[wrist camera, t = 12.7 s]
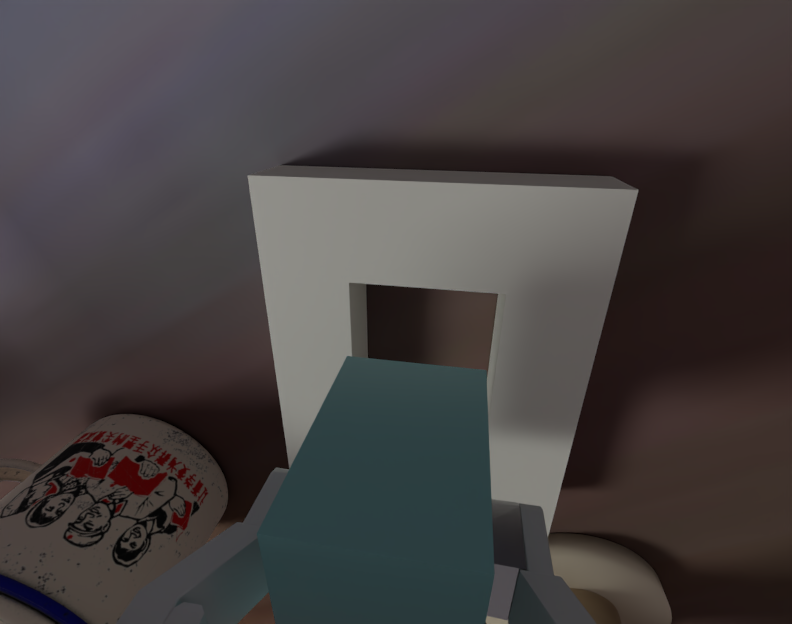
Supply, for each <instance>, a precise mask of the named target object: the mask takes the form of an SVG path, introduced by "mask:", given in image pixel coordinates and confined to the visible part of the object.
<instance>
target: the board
mask: <svg viewBox="0 0 792 624" xmlns="http://www.w3.org/2000/svg"><path fill="white" fill-rule="evenodd" d="M248 181H249V188H250V195H251V202H252V209H253V216H254V223H255V231H256V238H257V245H258V252H259V259H260V266H261V273H262V280H263V287H264V294H265V301H266V308H267V315H268V322H269V329H270V336H271V343H272V350H273V357H274V364H275V371H276V378H277V385H278V392H279V399H280V406H281V413H282V420H283V427H284V434H285V441H286V449H287V456H288V463H289V469H290V467H291V465H292V463H293V461H294V459H295V457H296V455H297V453H298V451H299V449H300V447H301V445H302V443H303V441H304V440H305V438H306V436H307V434H308V432H309V430H310V428H311V426H312V424H313V422H314V420H315V418H316V416H317V414H318V412H319V410H320V408H321V406H322V404H323V402H324V400H325V398H326V396H327V394H328V392H329V390H330V388H331V386H332V384H333V382H334V380H335V379H336V377H337V375H338V373H339V371H340V369H341V367H342V365H343V363H344V361H345V359H346V357H347V356H352V357H362V358H368V338H367V295H366V284H375V285H389V286H402V287H416V288H429V289H443V290H456V291H470V292H483V293H497V294H498V299H497V307H496V315H495V322H494V330H493V338H492V345H491V353H490V361H489V369H488V376H487V401H488V425H489V450H490V475H491V499H495V500H502V501H510V502H517V503H518V504H519V503H521V504H528V505H535V506H541V508H542V510H543V513H544V519H545V525H546V531H547V536H548V535H549V531H550V527H551V523H552V519H553V516H554V512H555V508H556V504H557V500H558V497H559V493H560V489H561V485H562V481H563V477H564V474H565V470H566V466H567V462H568V458H569V454H570V451H571V447H572V443H573V439H574V435H575V431H576V428H577V424H578V420H579V416H580V412H581V408H582V405H583V401H584V397H585V393H586V389H587V386H588V382H589V378H590V374H591V370H592V366H593V363H594V359H595V355H596V351H597V347H598V343H599V340H600V336H601V332H602V328H603V324H604V320H605V317H606V313H607V309H608V305H609V301H610V297H611V294H612V290H613V286H614V282H615V278H616V275H617V271H618V267H619V263H620V259H621V255H622V252H623V248H624V244H625V240H626V236H627V232H628V229H629V225H630V221H631V217H632V213H633V209H634V206H635V202H636V198H637V194H638V189H636V188H634V187H632V186H630V185H628V184H626V183H624V182H622V181H620V180H618V179H616V178H614V177H612V176H590V175H560V174H530V173H500V172H470V171H440V170H410V169H380V168H350V167H320V166H290V165H279V166H276V167H273V168H270V169H266V170H263V171H260V172H257V173H253V174H250V175H248Z"/></svg>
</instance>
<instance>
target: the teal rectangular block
mask: <svg viewBox="0 0 792 624" xmlns="http://www.w3.org/2000/svg"><path fill="white" fill-rule="evenodd" d="M257 538H258V543H259V547H260V552H261V557H262V562H263V566H264V571H265V576H266V580H267V585H268V590H269V595H270V599H271V604H272V609H273V613H274V618H275V623H276V624H485V622H486V617H487V612H488V607H489V601H490V596H491V591H492V586H493V580H494V575H495V573H494V549H493V524H492V499H491V475H490V450H489V425H488V401H487V376H486V370H478V369H468V368H459V367H449V366H439V365H430V364H420V363H410V362H401V361H391V360H381V359H372V358H362V357H352V356H347V357H346V359H345V361H344V363H343V365H342V367H341V369H340V371H339V373H338V375H337V377H336V379H335V380H334V382H333V384H332V386H331V388H330V390H329V392H328V394H327V396H326V398H325V400H324V402H323V404H322V406H321V408H320V410H319V412H318V414H317V416H316V418H315V420H314V422H313V424H312V426H311V428H310V430H309V432H308V434H307V436H306V438H305V440H304V441H303V443H302V445H301V447H300V449H299V451H298V453H297V455H296V457H295V459H294V461H293V463H292V465H291V467H290V469H289V471H288V473H287V475H286V477H285V479H284V481H283V483H282V485H281V487H280V489H279V491H278V493H277V495H276V497H275V499H274V501H273V502H272V504H271V506H270V508H269V510H268V512H267V514H266V516H265V518H264V520H263V522H262V524H261V526H260V528H259V530H258V532H257Z"/></svg>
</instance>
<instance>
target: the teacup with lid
mask: <svg viewBox="0 0 792 624" xmlns="http://www.w3.org/2000/svg"><path fill="white" fill-rule="evenodd" d="M0 481H15V482H21V483H20V484H19V485H18V486H17V487H16V488H14V489H13V490H12V491H11V492H10V493H8V494H7V495H6V496H5V497H4V498H2V499H1V500H0V624H116V623H117V621H118V620H119V618H120V617H121V616H122V614H123V613H124V611H125V610H126V608H127V607H128V605H129V604H130V603H131V601H132V600H133V598H134V597H135V595H136V594H137V593H138V591H139V590H140V589H142V588H143V587H145V586H146V585H147V584H149V583H150V582H152V581H153V580H155V579H156V578H157V577H159V576H160V575H162V574H163V573H165V572H166V571H167V570H169V569H170V568H172V567H173V566H175V565H176V564H178V563H179V562H180V561H182V560H183V559H185V558H186V557H188V556H189V555H190V554H192V553H193V552H195V551H196V550H198V549H199V548H201V547H202V546H203V545H205V543H206V542H207V540H208V539H209V537H210V535H211V534H212V532H213V530H214V529H215V527H216V525H217V524H218V522H219V521H220V519H221V517H222V516H223V514H224V512H225V510H226V507H227V503H228V488H227V483H226V480H225V477H224V475H223V472H222V471H221V469H220V467H219V465H218V464H217V462H216V461H215V460H214V458H213V457H212V456H211V455H210V453H209V452H208V451H207V450H206V449H205V448H204V447H203V446H202V445H201V444H199V443H198V442H197V441H196V440H195V439H193V438H192V437H191V436H189V435H188V434H186V433H185V432H183V431H182V430H180V429H178V428H176V427H174V426H172V425H170V424H168V423H166V422H163V421H161V420H158V419H155V418H152V417H148V416H143V415H137V414H117V415H111V416H108V417H104V418H102V419H99V420H97V421H96V422H94V423H93V424H91V425H90V426H89V427H88V428H86V429H85V430H84V431H83V432H82V433H80V434H79V435H78V436H77V437H76V438H74V439H73V440H72V441H71V442H70V443H68V444H67V445H66V446H65V447H64V448H62V449H61V450H60V451H59V452H58V453H56V454H55V455H54V456H53V457H52V458H50V459H49V460H48V461H47V462H46V463H44V464H43V465H41V464H38V463H35V462H31V461H27V460H22V459H0Z"/></svg>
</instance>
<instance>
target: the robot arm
mask: <svg viewBox="0 0 792 624" xmlns="http://www.w3.org/2000/svg"><path fill="white" fill-rule="evenodd" d="M288 471H289V469H283V468H277V467H276V468H275V469H274V470H273V471H272V472H271V473H270V475H269V477H268V479H267V480H266V482H265V484H264V486H263V488H262V489H261V491H260V493H259V495H258V496H257V498H256V500H255V502H254V504H253V505H252V507H251V509H250V511H249V513H248V514H247V516H246V518H245V520H244V522H243V523H241V522H236V523H235V524H234V525H232V526H231V527H229V528H228V529H226V530H225V531H224V532H222V533H221V534H219V535H218V536H216V537H215V538H213V539H212V540H211V541H209V542H208V543H206V544H205V545H203V546H202V547H201V548H199V549H198V550H196V551H195V552H193V553H192V554H190V555H189V556H188V557H186V558H185V559H183V560H182V561H180V562H179V563H178V564H176V565H175V566H173V567H172V568H170V569H169V570H167V571H166V572H165V573H163V574H162V575H160V576H159V577H157V578H156V579H155V580H153V581H152V582H150V583H149V584H147V585H146V586H145V587H143V588H142V589H140V590H139V591H138V593H137V594H136V595H135V597H134V598H133V600H132V601H131V603H130V604H129V605H128V607H127V608H126V610H125V611H124V613H123V614H122V616H121V617H120V618H119V620H118V621H117V623H116V624H237V623H238V622H239V621H240V620H241V619H242V618H243V617H244V616H245V615H246V614H247V613H248V612H249V611H250V610H251V609H252V608H253V607H254V606H255V605H256V604H257V603H258V602H259V601H260V600H261V599H262V598H263V597H264V596H265V595H266V594H267V593H268V592H269V590H268V585H267V580H266V576H265V571H264V566H263V562H262V557H261V552H260V547H259V543H258V538H257V532H258V530H259V528H260V526H261V524H262V522H263V520H264V518H265V516H266V514H267V512H268V510H269V508H270V506H271V504H272V502H273V501H274V499H275V497H276V495H277V493H278V491H279V489H280V487H281V485H282V483H283V481H284V479H285V477H286V475H287V473H288ZM492 524H493V549H494V573H495V575H494V580H493V586H492V591H491V596H490V601H489V607H488V612H487V616H490V617H494V618H499V619H504V620H508V624H597V623H596V622H595V621H594V619H593V618H592V617H591V615H590V614H589V613H588V611H587V610H586V609H585V607H584V606H583V605H582V604H581V602H580V601H579V600H578V598H577V597H576V596H575V594H574V593H573V592H572V590H571V589H570V588H569V586H568V585H567V584H566V582H565V581H564V580H563V579H562V577H560V576H555V575H554V572H553V566H552V560H551V554H550V548H549V542H548V536H547V531H546V525H545V519H544V513H543V510H542V508H541V506H535V505H528V504H521V503H519V504H518V503H517V502H510V501H502V500H495V499H492Z"/></svg>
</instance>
